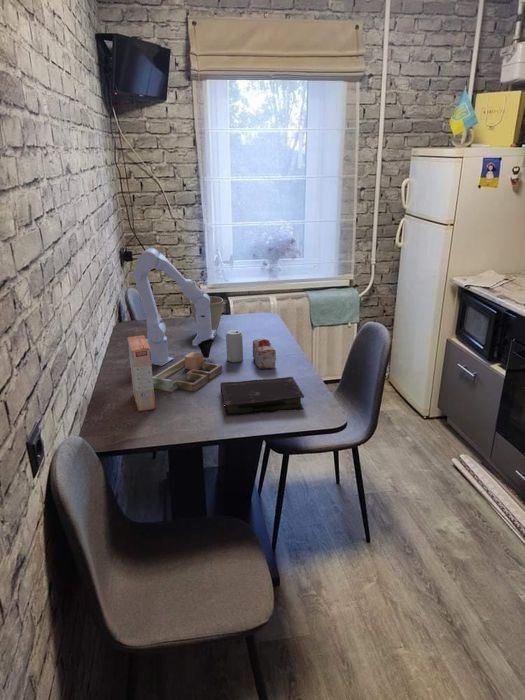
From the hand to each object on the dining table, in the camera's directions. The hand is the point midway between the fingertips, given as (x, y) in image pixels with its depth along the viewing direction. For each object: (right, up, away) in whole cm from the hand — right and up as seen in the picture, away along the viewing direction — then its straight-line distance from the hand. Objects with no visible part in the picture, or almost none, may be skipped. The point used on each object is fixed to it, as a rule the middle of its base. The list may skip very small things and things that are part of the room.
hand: (205, 357), depth 195 cm
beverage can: (+12, -1, -1) cm, 12 cm away
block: (-4, -4, -7) cm, 9 cm away
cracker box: (-16, -14, -34) cm, 40 cm away
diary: (+22, -15, -34) cm, 43 cm away
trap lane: (-5, -7, -16) cm, 18 cm away
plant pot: (-2, +10, +31) cm, 32 cm away
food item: (+23, -3, -5) cm, 24 cm away
